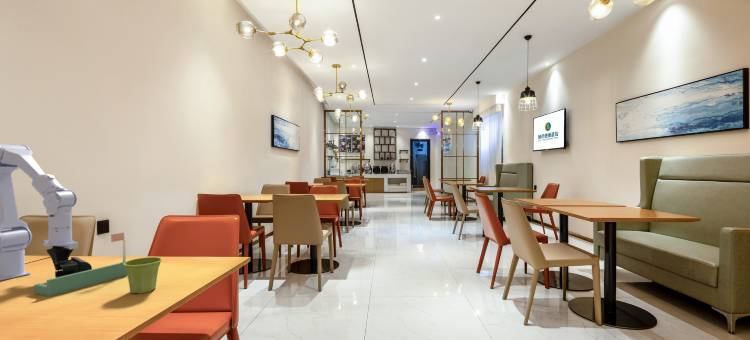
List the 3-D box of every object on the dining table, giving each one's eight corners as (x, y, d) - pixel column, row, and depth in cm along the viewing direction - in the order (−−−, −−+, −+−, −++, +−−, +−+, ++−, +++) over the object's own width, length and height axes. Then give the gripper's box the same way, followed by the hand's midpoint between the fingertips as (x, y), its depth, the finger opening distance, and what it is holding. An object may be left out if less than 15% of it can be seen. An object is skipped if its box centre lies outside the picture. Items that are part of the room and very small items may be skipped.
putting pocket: (34, 293, 101) (34, 242, 101) (116, 272, 122) (116, 230, 122) (49, 296, 98) (49, 244, 98) (130, 274, 119) (130, 231, 119)
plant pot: (166, 290, 103) (166, 260, 103) (127, 298, 96) (127, 267, 96) (156, 283, 109) (156, 255, 109) (119, 291, 102) (119, 261, 102)
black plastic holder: (92, 280, 112) (92, 259, 112) (63, 286, 106) (63, 264, 107) (82, 275, 118) (82, 255, 118) (54, 280, 112) (54, 259, 112)
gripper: (31, 228, 114) (32, 270, 114) (59, 231, 108) (59, 275, 108) (58, 225, 120) (58, 265, 120) (85, 227, 115) (85, 269, 115)
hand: (60, 269), depth 115 cm, fingers closed
